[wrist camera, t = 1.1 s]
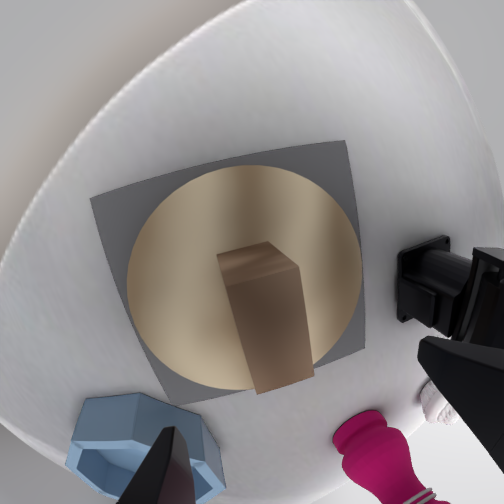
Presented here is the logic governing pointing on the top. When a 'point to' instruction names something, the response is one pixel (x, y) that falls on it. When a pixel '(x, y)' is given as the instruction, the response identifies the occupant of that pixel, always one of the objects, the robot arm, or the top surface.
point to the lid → (244, 278)
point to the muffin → (437, 406)
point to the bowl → (138, 443)
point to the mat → (159, 188)
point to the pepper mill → (380, 460)
